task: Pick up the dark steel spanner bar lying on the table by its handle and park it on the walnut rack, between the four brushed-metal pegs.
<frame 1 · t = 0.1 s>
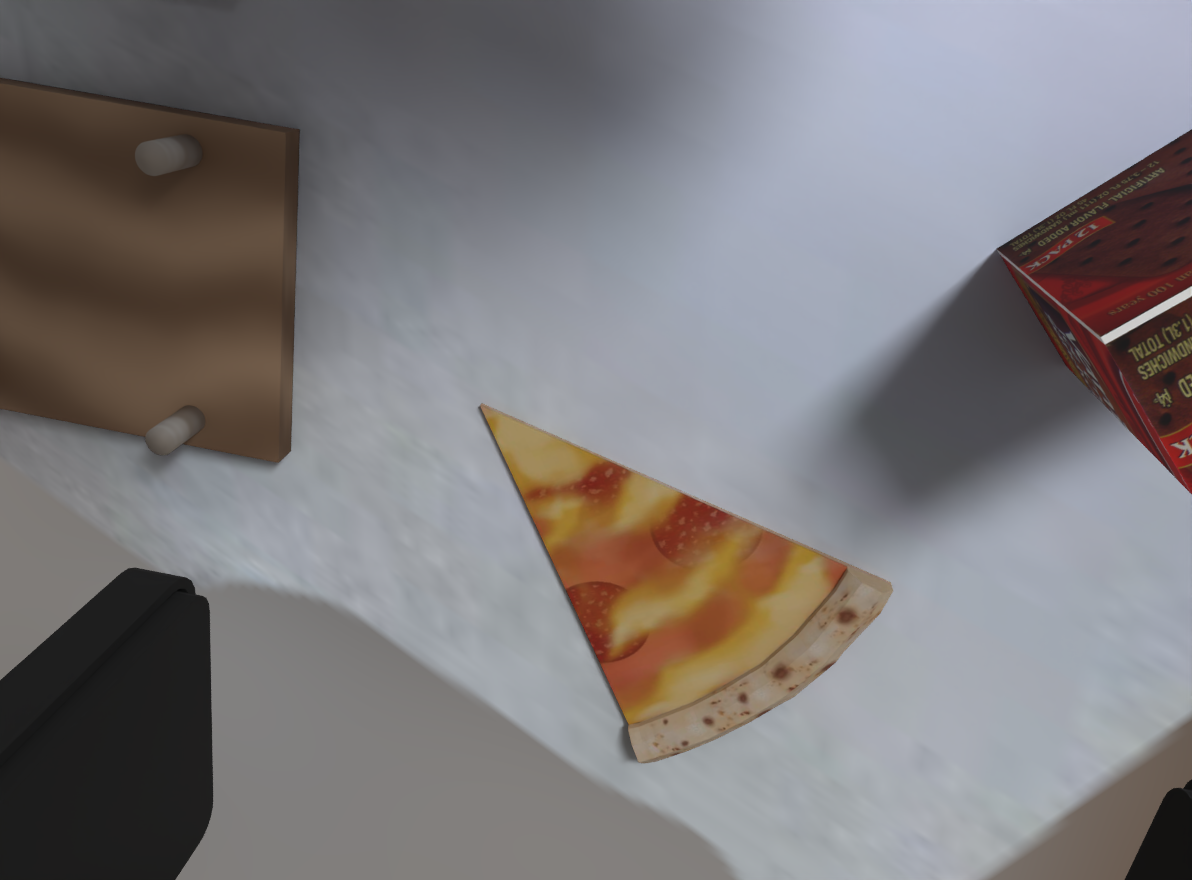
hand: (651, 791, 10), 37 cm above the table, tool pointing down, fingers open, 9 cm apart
pizza slice: (711, 542, 51), on the table
peg rack: (97, 264, 48), on the table
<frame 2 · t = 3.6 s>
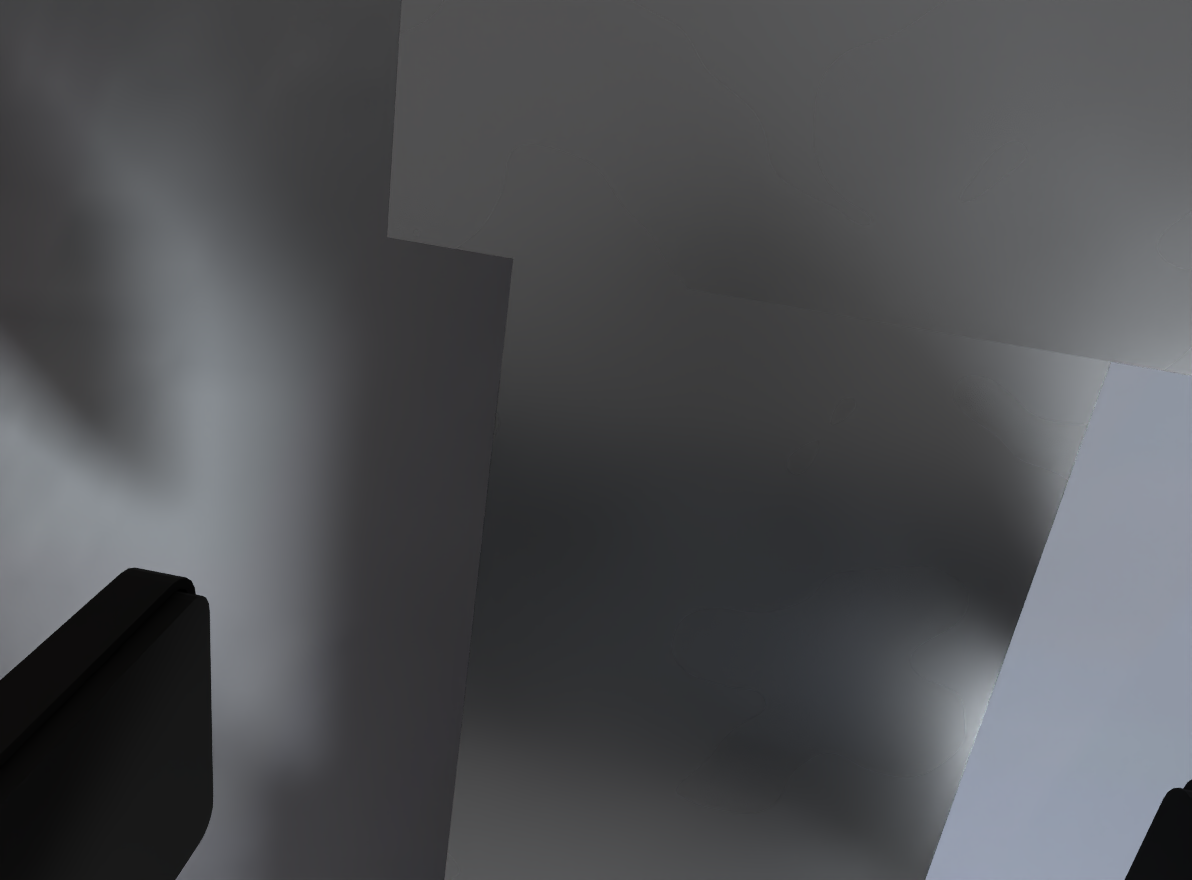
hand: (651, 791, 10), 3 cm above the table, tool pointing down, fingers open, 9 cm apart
spanner: (682, 649, 13), on the table
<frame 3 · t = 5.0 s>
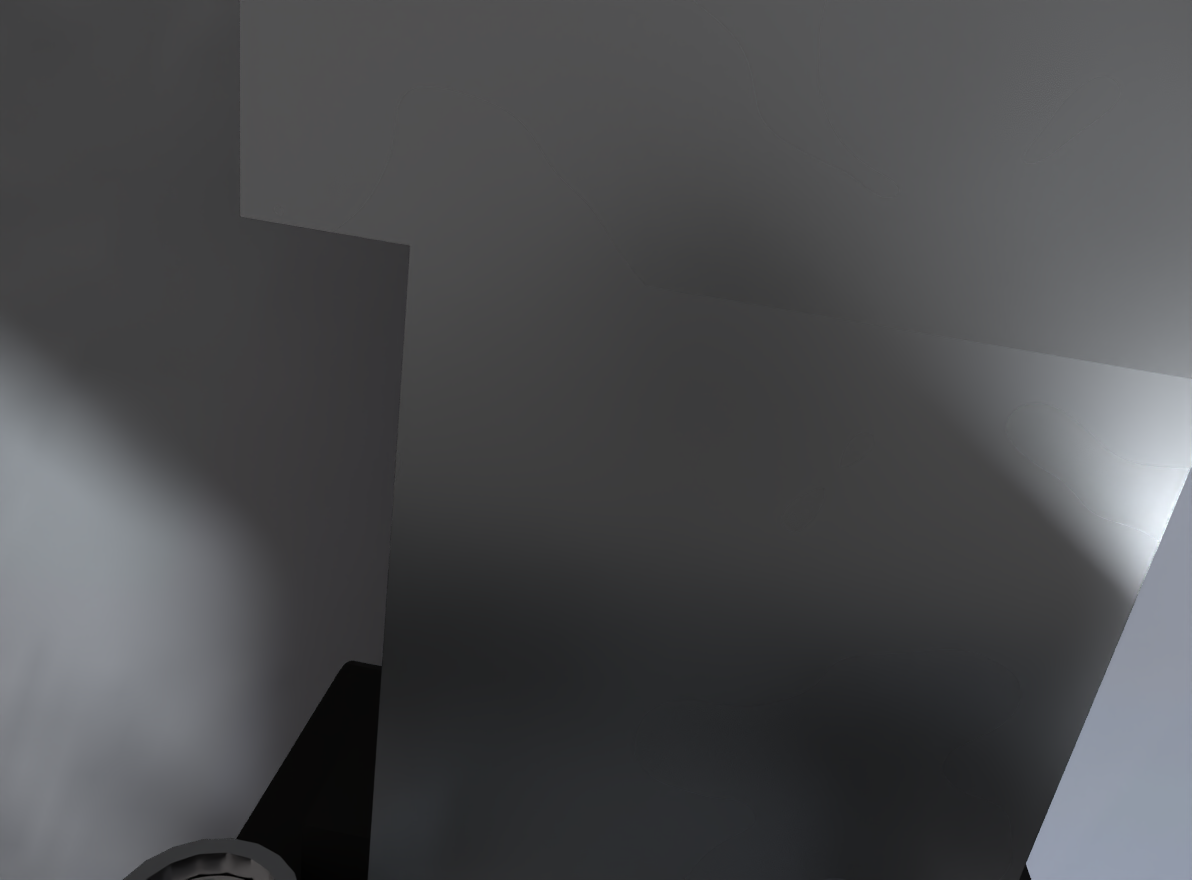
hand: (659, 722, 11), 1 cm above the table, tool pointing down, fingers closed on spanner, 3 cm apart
spanner: (663, 690, 11), on the table, touching gripper
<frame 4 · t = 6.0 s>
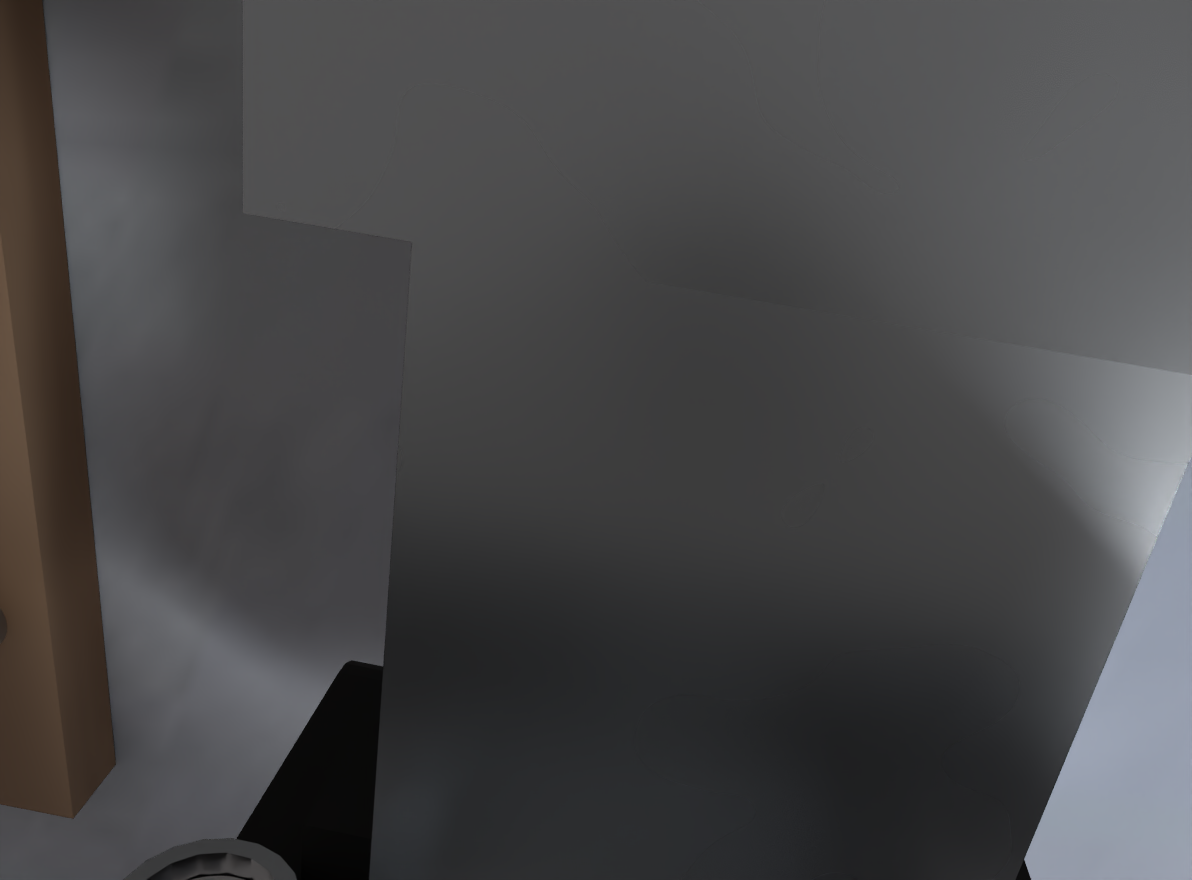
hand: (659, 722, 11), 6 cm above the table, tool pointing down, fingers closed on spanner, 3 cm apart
spanner: (663, 687, 11), point 6 cm above the table, touching gripper
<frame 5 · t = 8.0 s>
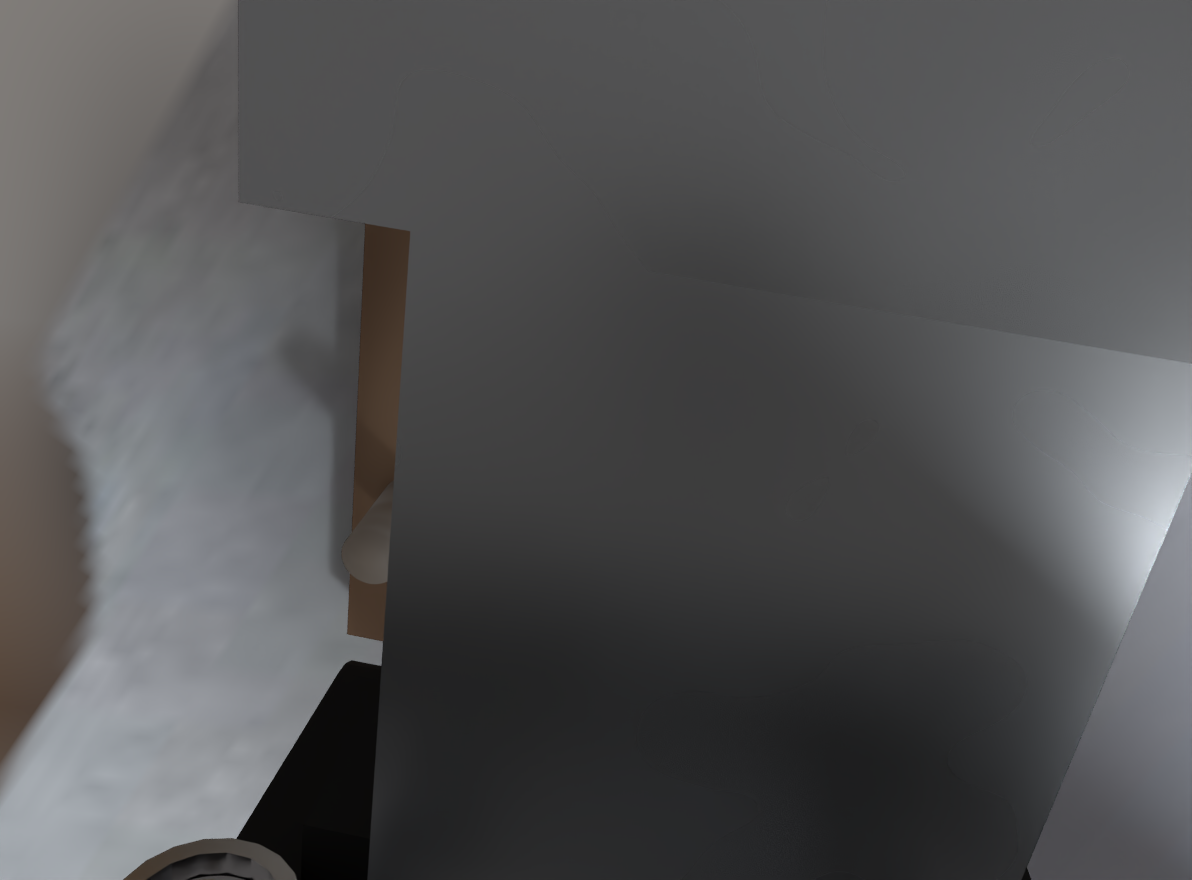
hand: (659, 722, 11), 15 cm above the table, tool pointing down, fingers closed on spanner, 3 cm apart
peg rack: (694, 327, 25), on the table
spanner: (664, 686, 11), point 15 cm above the table, touching gripper
when the fingers open (3 cm above the table, at t = 10.9 s): spanner drops 1 cm, resting on peg rack.
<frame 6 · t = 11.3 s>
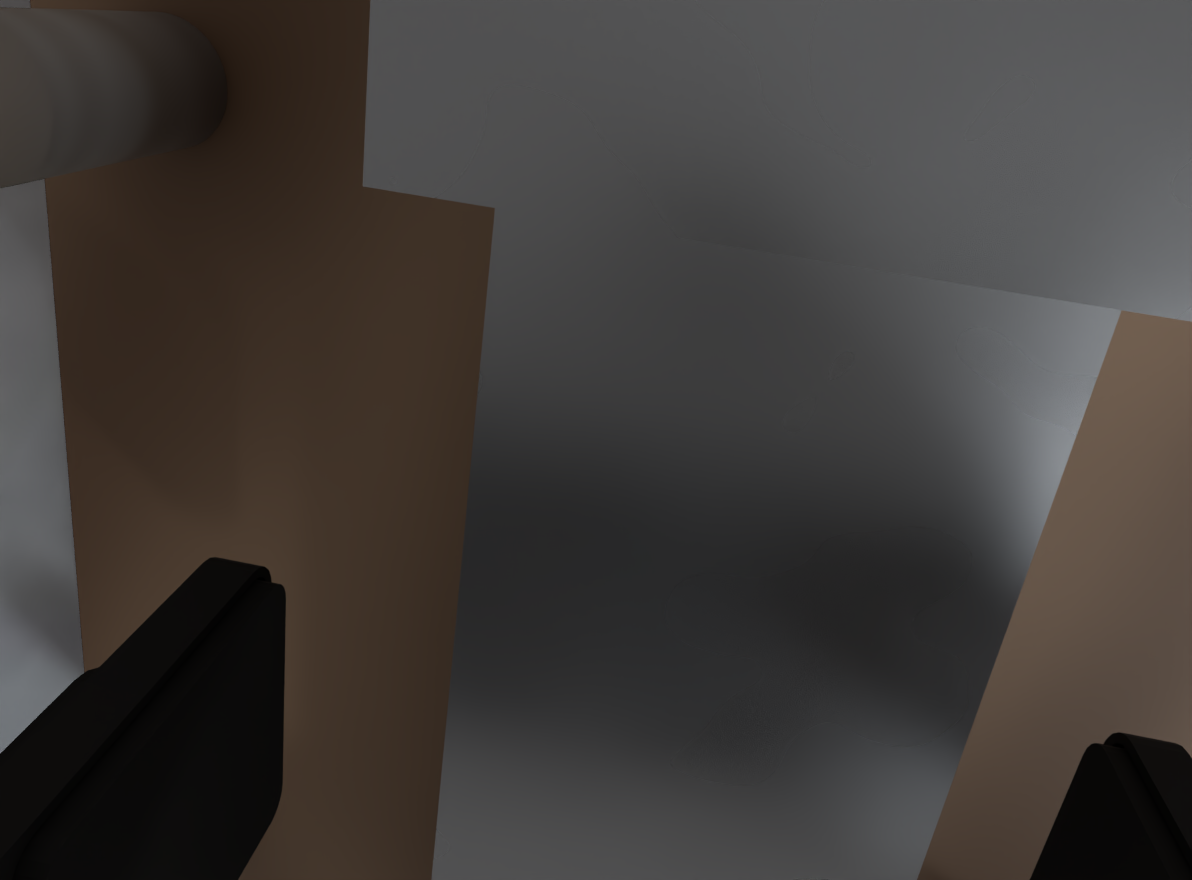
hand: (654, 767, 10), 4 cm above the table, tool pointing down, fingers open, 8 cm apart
peg rack: (677, 560, 14), on the table
spanner: (677, 623, 13), point 1 cm above the table, touching peg rack
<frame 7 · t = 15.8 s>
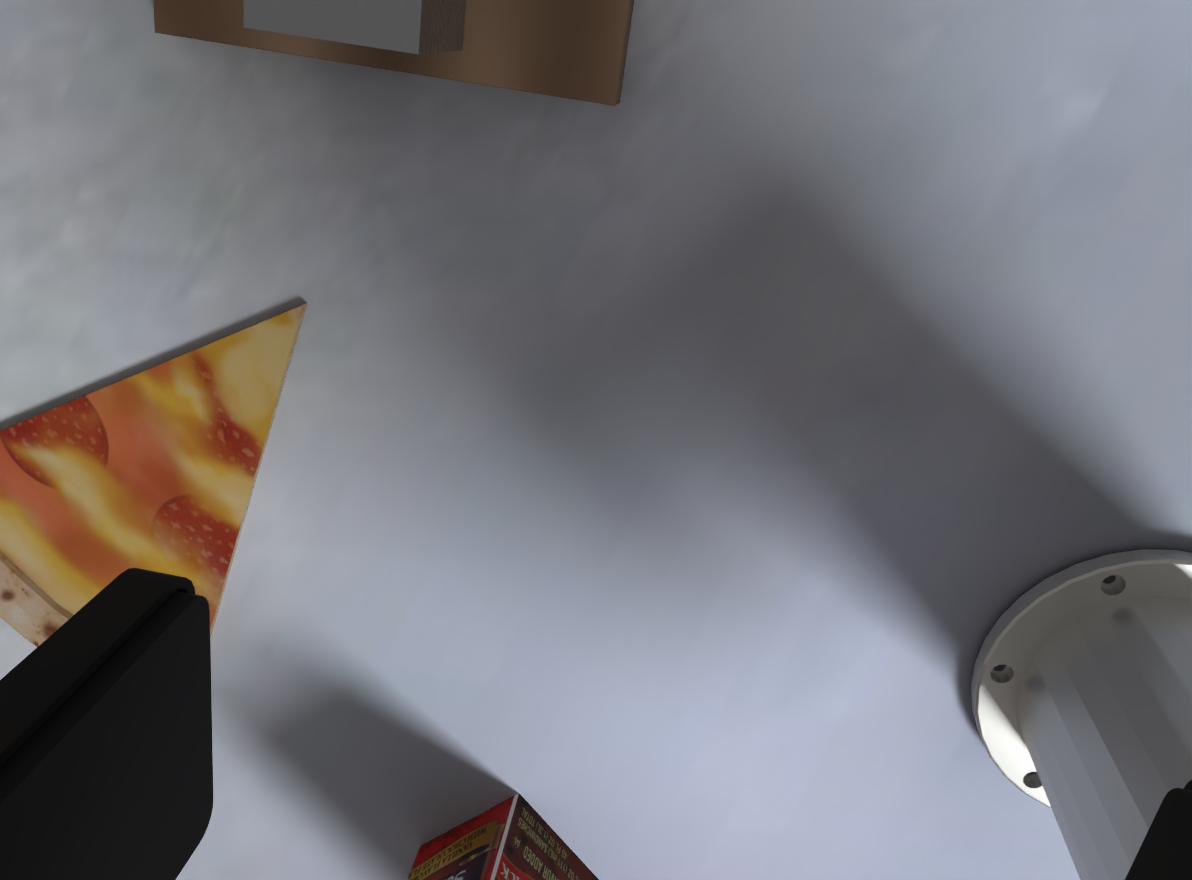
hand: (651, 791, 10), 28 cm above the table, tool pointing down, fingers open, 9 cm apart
pizza slice: (188, 543, 45), on the table
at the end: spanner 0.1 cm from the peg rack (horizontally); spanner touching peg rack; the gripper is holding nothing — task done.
